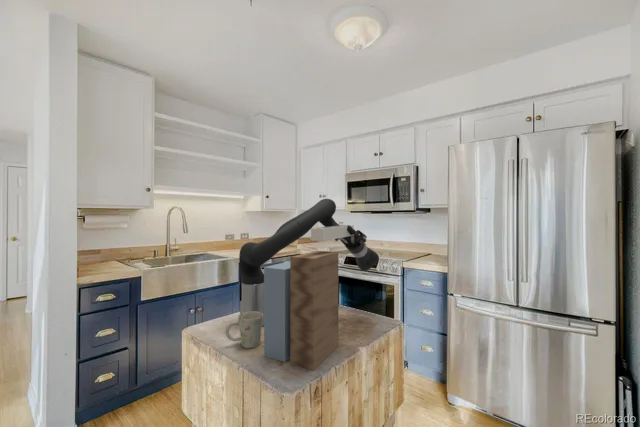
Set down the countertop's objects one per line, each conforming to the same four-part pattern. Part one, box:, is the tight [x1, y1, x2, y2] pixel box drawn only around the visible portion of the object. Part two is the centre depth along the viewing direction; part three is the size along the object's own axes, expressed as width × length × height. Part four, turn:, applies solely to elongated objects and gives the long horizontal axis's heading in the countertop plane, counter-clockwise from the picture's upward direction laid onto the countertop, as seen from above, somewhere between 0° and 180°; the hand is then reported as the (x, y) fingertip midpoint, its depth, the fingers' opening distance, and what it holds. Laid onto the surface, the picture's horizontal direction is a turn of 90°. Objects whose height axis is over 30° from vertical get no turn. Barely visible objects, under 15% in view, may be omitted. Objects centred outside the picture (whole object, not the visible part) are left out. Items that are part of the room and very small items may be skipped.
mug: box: [224, 311, 263, 349], centre depth 100 cm, size 8×13×10 cm, turn 107°
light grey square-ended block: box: [310, 224, 355, 242], centre depth 106 cm, size 4×26×4 cm, turn 152°
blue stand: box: [263, 260, 290, 363], centre depth 98 cm, size 8×17×28 cm, turn 152°
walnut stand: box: [289, 250, 340, 371], centre depth 93 cm, size 8×17×32 cm, turn 152°
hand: (342, 227), depth 112 cm, fingers closed on light grey square-ended block, 4 cm apart
